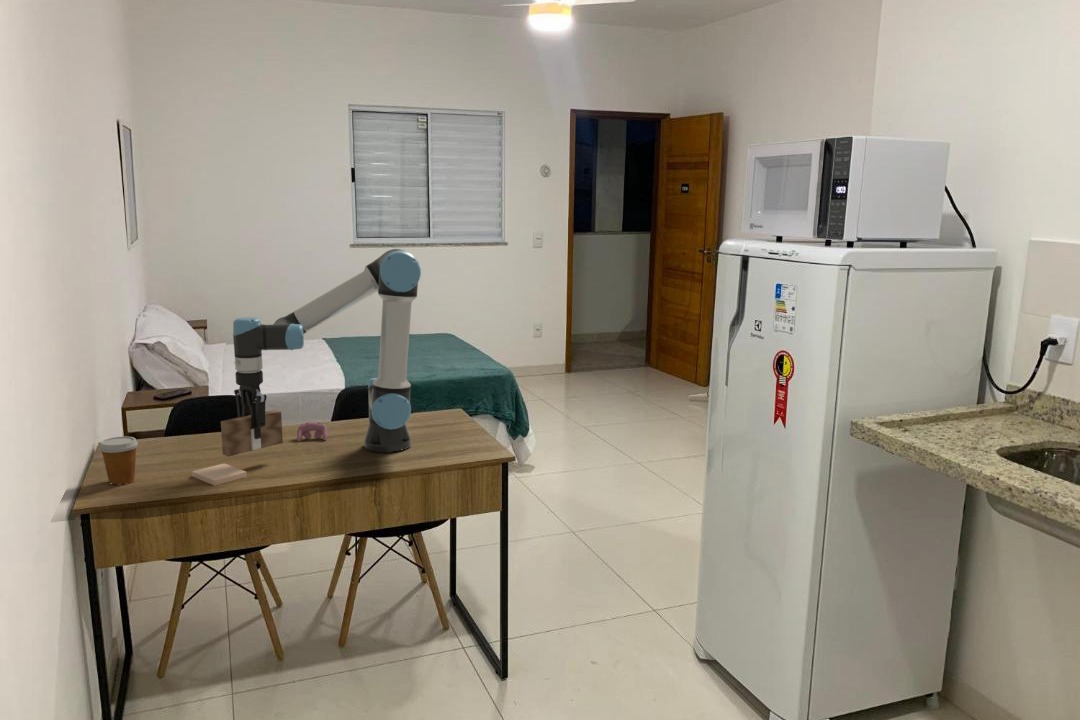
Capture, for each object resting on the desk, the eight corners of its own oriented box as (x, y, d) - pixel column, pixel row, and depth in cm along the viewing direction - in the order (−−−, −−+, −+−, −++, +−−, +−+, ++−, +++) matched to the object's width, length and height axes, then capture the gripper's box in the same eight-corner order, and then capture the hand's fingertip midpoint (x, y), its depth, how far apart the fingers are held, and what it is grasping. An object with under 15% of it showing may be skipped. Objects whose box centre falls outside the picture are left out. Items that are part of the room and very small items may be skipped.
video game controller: (328, 442, 269) (328, 422, 271) (327, 440, 265) (327, 419, 267) (297, 443, 268) (298, 423, 269) (296, 441, 263) (296, 420, 265)
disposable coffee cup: (132, 487, 219) (128, 445, 217) (96, 487, 219) (92, 445, 216) (146, 475, 229) (143, 435, 226) (112, 476, 228) (108, 436, 226)
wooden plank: (277, 441, 245) (275, 409, 243) (282, 442, 243) (281, 411, 241) (222, 454, 231) (220, 421, 229) (228, 456, 229) (226, 423, 227)
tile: (224, 463, 237) (192, 471, 229) (246, 471, 229) (214, 480, 222) (224, 469, 237) (192, 477, 229) (247, 478, 230) (214, 487, 222)
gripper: (222, 368, 234) (226, 445, 239) (252, 376, 225) (256, 455, 229) (245, 365, 240) (249, 439, 245) (276, 372, 230) (279, 450, 235)
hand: (252, 447), depth 237 cm, fingers closed on wooden plank, 3 cm apart
